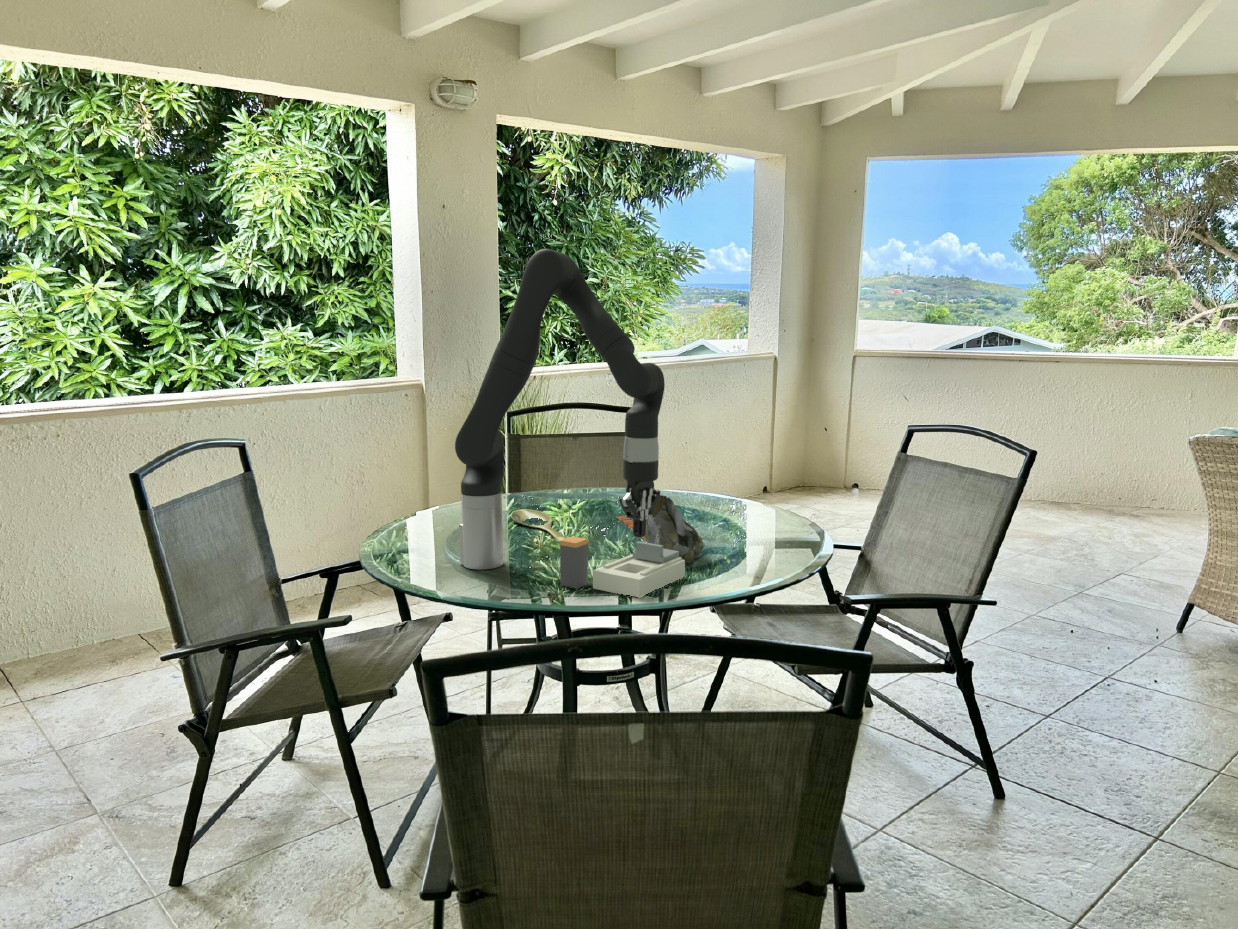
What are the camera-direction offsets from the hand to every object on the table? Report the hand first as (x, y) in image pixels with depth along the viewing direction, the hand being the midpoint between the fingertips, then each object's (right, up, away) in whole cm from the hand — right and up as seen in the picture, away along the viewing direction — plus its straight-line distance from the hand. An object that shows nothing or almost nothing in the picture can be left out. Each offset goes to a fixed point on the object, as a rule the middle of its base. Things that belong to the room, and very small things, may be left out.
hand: (639, 536), depth 197 cm
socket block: (0, -10, +1) cm, 10 cm away
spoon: (-25, -3, +51) cm, 57 cm away
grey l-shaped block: (+4, -5, +6) cm, 9 cm away
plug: (-14, -11, 0) cm, 18 cm away
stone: (+8, -6, +27) cm, 29 cm away
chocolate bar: (+6, -3, +51) cm, 51 cm away
